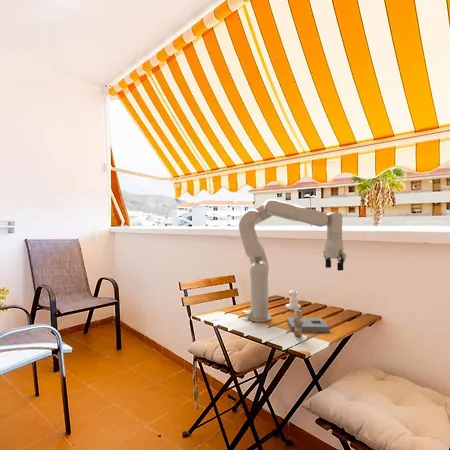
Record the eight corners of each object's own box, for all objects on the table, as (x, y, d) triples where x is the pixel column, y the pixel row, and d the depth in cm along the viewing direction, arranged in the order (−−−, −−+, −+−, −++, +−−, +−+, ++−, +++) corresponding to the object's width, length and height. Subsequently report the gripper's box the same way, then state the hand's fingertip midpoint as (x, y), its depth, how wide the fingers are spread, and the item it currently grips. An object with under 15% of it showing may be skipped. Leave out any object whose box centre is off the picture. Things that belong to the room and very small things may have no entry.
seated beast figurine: (301, 307, 197) (301, 288, 197) (302, 311, 188) (302, 291, 188) (285, 307, 198) (285, 287, 198) (286, 311, 190) (285, 290, 190)
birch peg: (295, 337, 147) (295, 311, 147) (293, 334, 150) (293, 309, 150) (302, 337, 147) (302, 311, 147) (301, 334, 150) (301, 309, 150)
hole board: (291, 331, 155) (291, 326, 155) (287, 322, 169) (287, 317, 169) (329, 332, 154) (329, 326, 154) (321, 322, 168) (321, 317, 168)
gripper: (318, 235, 174) (318, 266, 174) (339, 237, 158) (339, 271, 158) (330, 235, 177) (329, 266, 177) (351, 237, 160) (351, 271, 160)
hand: (334, 268), depth 167 cm, fingers open, 9 cm apart
